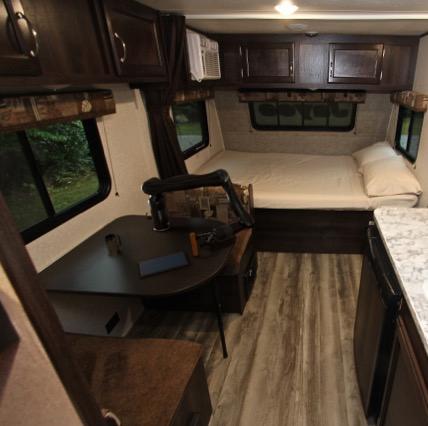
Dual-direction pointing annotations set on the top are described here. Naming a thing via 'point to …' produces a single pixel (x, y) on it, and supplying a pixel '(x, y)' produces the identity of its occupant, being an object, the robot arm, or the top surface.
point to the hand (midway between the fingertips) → (196, 242)
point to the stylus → (194, 244)
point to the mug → (113, 244)
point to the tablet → (163, 264)
